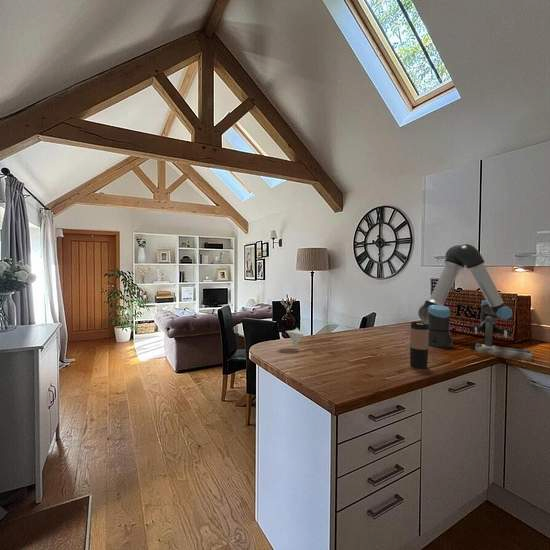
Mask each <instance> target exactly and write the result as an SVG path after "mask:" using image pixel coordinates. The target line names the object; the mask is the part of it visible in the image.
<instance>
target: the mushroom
mask: <svg viewBox="0 0 550 550" xmlns="http://www.w3.org/2000/svg"><path fill="white" fill-rule="evenodd" d="M285 333H287V334H288V336H289V337H290V339H291V342H292V345H293V349H294V350H296V347H297V344H298V342H299V340H300V339H301V338H302V337H304V336H305V333H303V332H302V331H300V329H299V328H298V327H296V328H295V329H292V330H285Z"/></svg>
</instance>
